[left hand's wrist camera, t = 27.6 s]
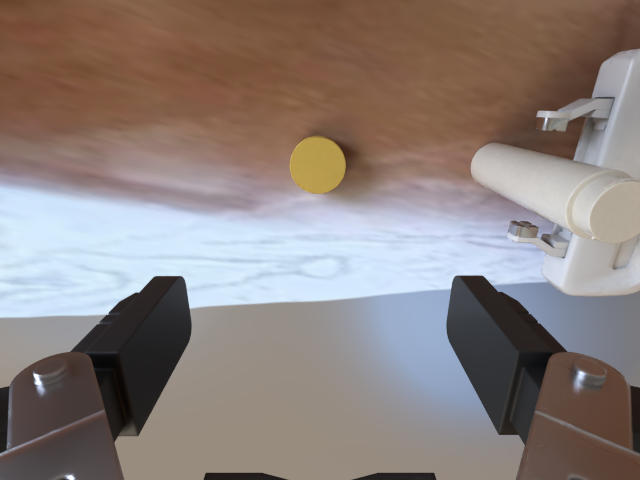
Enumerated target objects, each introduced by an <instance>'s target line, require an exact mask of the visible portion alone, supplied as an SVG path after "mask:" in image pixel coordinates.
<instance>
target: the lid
mask: <svg viewBox="0 0 640 480" xmlns="http://www.w3.org/2000/svg"><path fill="white" fill-rule="evenodd" d="M345 170H346V161H345V157H344V154H343V152H342V150H341V148H340V147H339V145H338V144H337V143H336V142H334V141H333V140H332V139H330V138H328V137H324V136H312V137H308V138H306V139H304V140H303V141H301V142H300V143H299V144H298V145H297V147H296V148H295V150H294V152H293V154H292V156H291V160H290V171H291V175H292V177H293V179H294V181H295V182H296V184H297V185H298V186H299V187H301V188H302V189H303V190H305V191H307V192H310V193H315V194H321V193H326V192H329V191H331V190H333V189H334V188H335V187H337V186H338V185H339V183H340V182H341V181H342V179H343V177H344V174H345Z"/></svg>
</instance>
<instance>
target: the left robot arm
mask: <svg viewBox="0 0 640 480" xmlns="http://www.w3.org/2000/svg"><path fill="white" fill-rule="evenodd" d="M447 335H448V339H449V342H450V344H451V346H452V348H453V349H454V351H455V353H456V355H457V357H458V359H459V361H460V363H461V364H462V366H463V368H464V370H465V372H466V374H467V376H468V378H469V380H470V381H471V383H472V385H473V387H474V389H475V391H476V393H477V395H478V396H479V398H480V400H481V402H482V404H483V406H484V408H485V410H486V412H487V413H488V415H489V417H490V419H491V421H492V423H493V425H494V426H495V428H496V430H497V432H498V434H499V435H519V436H520V438H521V439H522V441H523V443H524V444H525V447H524V451H523V455H522V458H521V462H520V466H519V470H518V473H517V477H516V480H640V388H639V387H634V386H630V384H629V383H628V381H627V380H626V378H625V377H624V376H623V375H622V374H621V373H620V372H619V371H617V370H616V369H615V368H613V367H612V366H610V365H608V364H606V363H605V362H603V361H600V360H598V359H596V358H593V357H590V356H587V355H584V354H579V353H573V352H567V351H566V350H565V349H564V348H563V347H562V346H561V345H560V344H559V343H558V342H557V341H556V339H555V338H554V337H553V336H552V335H551V334H550V333H549V332H548V331H547V330H546V329H545V328H544V327H543V326H542V325H541V324H538V322H537V320H536V319H535V318H534V317H533V316H532V315H531V314H529V312H528V311H527V310H526V309H525V308H524V307H523V306H522V305H521V304H520V303H519V302H518V301H517V300H515V299H513V298H511V297H510V296H508V295H506V294H505V293H503V292H498V291H497V290H496V289H495V288H494V287H493V286H492V285H491V284H490V283H489V282H488V280H487V279H486V278H485V277H484V276H455V277H454V279H453V282H452V288H451V295H450V302H449V309H448V316H447ZM190 336H191V316H190V309H189V303H188V296H187V289H186V283H185V280H184V278H183V277H182V276H155V277H154V278H153V279H152V280H151V281H150V282H149V283H148V284H147V285H146V286H145V287H144V288H143V289H142V290H141V291H140V293H134V294H132V295H131V296H129V297H127V298H125V299H124V300H122V301H120V302H119V303H118V304H117V305H116V306H115V307H114V308H113V309H112V310H111V311H110V312H109V315H106V316H105V317H104V318H103V319H102V320H101V321H100V324H97V325H96V326H95V327H94V328H93V329H92V330H91V331H90V332H89V333H88V334H87V335H86V336H85V337H84V338H83V339H82V340H81V341H80V342H79V343H78V344H77V345H76V346H75V347H74V348H73V350H72V351H71V352H66V353H60V354H56V355H53V356H49V357H47V358H44V359H42V360H39V361H37V362H35V363H34V364H32V365H30V366H28V367H27V368H25V369H24V370H23V371H21V372H20V373H19V374H18V375H17V376H16V377H15V378H14V380H13V381H12V382H11V384H10V386H8V387H4V388H0V480H124V477H123V473H122V470H121V466H120V462H119V459H118V455H117V451H116V448H115V444H114V442H115V440H116V439H117V437H118V436H139V434H140V432H141V430H142V428H143V426H144V424H145V423H146V421H147V419H148V417H149V415H150V413H151V411H152V410H153V408H154V406H155V404H156V402H157V400H158V398H159V397H160V395H161V393H162V391H163V389H164V387H165V385H166V383H167V382H168V380H169V378H170V376H171V374H172V372H173V371H174V369H175V367H176V365H177V363H178V361H179V359H180V358H181V356H182V354H183V352H184V350H185V348H186V346H187V345H188V343H189V340H190ZM204 480H287V479H283V478H279V477H275V476H272V475H268V474H264V473H206V474H205V477H204ZM353 480H436V477H435V474H434V473H376V474H372V475H368V476H365V477H361V478H357V479H353Z"/></svg>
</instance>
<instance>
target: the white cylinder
mask: <svg viewBox="0 0 640 480" xmlns="http://www.w3.org/2000/svg"><path fill="white" fill-rule="evenodd" d="M471 174H472V177H473V178H474V180H475V181H476V182H477V183H478V184H480V185H482V186H484V187H486V188H488V189H489V190H491V191H493V192H495V193H497V194H499V195H501V196H503V197H505V198H507V199H509V200H510V201H512V202H514V203H516V204H518V205H520V206H522V207H524V208H526V209H528V210H530V211H531V212H533V213H535V214H537V215H539V216H541V217H543V218H545V219H547V220H549V221H550V222H552V223H554V224H556V225H558V226H560V227H562V228H564V229H566V230H568V231H570V232H571V233H573V234H575V235H577V236H579V237H582V238H586V239H594V240H600V241H602V242H605V243H621V242H625V241H628V240H630V239H632V238H634V237H636V236H637V235H639V234H640V180H638V179H634V178H632V177H631V176H630V175H628V174H627V173H625V172H622V171H619V170H615V169H611V168H606V167H602V166H598V165H593V164H589V163H585V162H581V161H576V160H572V159H568V158H564V157H559V156H555V155H551V154H546V153H542V152H538V151H534V150H529V149H525V148H521V147H516V146H512V145H508V144H504V143H498V142H495V143H490V144H487V145H485V146H483V147H482V148H481V149H479V150H478V151H477V153H476V154H475V155H474V157H473V159H472V162H471Z"/></svg>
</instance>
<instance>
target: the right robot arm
mask: <svg viewBox="0 0 640 480" xmlns="http://www.w3.org/2000/svg"><path fill="white" fill-rule="evenodd" d="M577 117H586V118H585V121H584V125H583V128H582V132H581V135H580V138H579V142H578V145H577V149H576V152H575V156H574V159H573V160H576V161H581V162H585V163H589V164H593V165H598V166H602V167H606V168H611V169H615V170H619V171H622V172H625V173H627V174H628V175H630V176H631V177H632V178H634V179H638V180H640V49H633V50H627V51H622V52H619V53H616V54H615V55H613V56H612V57H610V58H609V59H607V60H606V61H604V62H603V63H602V65H601V67H600V70H599V74H598V77H597V80H596V84H595V87H594V91H593V94H592V98H591V99H579V100H577V101H575V102H573V103H571V104H569V105H567V106H565V107H563V108H561V109H559V110H558V111H538V113H537V117H536V121H535V125H534V129H537V130H546V131H563V132H565V131H566V128H567V125H568V121H570V120H573V119H575V118H577ZM537 232H538V227H536V226H535V225H532V224H531V223H529V222H527V221H520V222H517V221H511V222H510V226H509V229H508V233H507V237H508V238H509V239H511V240H512V241H515V242H519V243H532V244H534V245H535V246H537V247H538V248H540V249H541V250H543V251H544V252H545V253H546V254H545V258H544V261H543V264H542V267H541V274H542V275H543V276H544V278H545V279H546V280H547V281H548V282H549V283H550V284H551V285H553V286H554V287H555V288H556V289H558V290H559V291H561V292H563V293H565V294H568V295H572V296H619V295H628V294H632V293H636V292H638V291H640V234H639V235H637V236H636V237H634V238H632V239H630V240H628V241H625V242H621V243H605V242H602V241H600V240H594V239H586V238H582V237H579V236H577V235H575V234H573V233H571V232H570V231H568V230H566V229H564V228H562V227H560V226H558V225H556V224H554V227H553V230H552V234H543V235H542V237H541V239H542V240H541V239H540V238H538V237H537Z"/></svg>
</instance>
